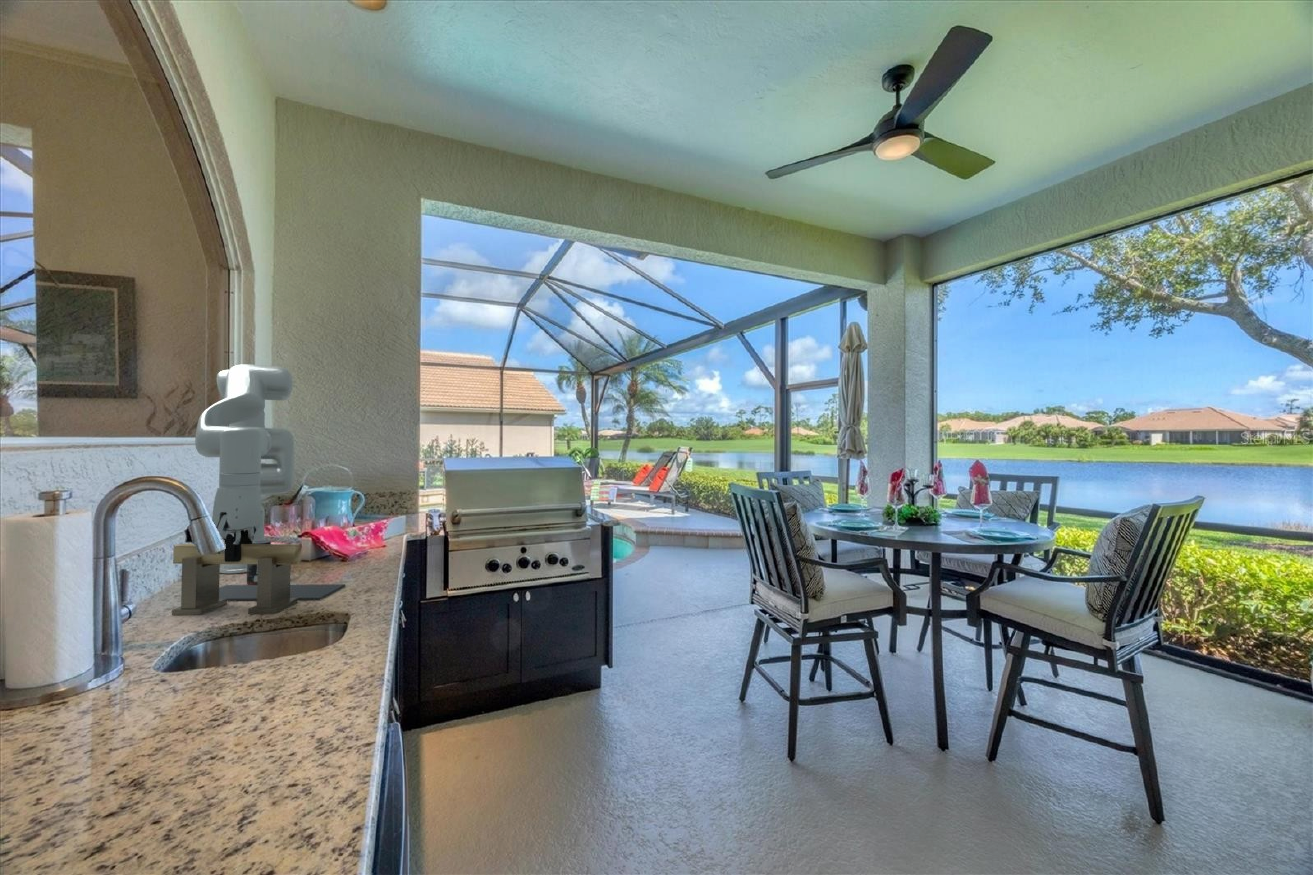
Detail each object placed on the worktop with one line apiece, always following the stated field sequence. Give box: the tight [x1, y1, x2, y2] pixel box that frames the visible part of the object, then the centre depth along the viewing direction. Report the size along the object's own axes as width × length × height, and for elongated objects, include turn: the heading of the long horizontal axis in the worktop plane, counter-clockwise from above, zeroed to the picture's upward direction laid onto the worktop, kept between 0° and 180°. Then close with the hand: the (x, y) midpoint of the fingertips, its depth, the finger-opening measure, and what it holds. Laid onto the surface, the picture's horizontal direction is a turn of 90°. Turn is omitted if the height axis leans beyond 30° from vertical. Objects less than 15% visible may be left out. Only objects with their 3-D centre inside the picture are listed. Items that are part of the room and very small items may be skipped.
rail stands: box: [171, 557, 299, 616], centre depth 120 cm, size 8×22×12 cm, turn 95°
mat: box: [219, 583, 346, 602], centre depth 132 cm, size 12×30×1 cm, turn 95°
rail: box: [172, 542, 302, 566], centre depth 121 cm, size 3×26×4 cm, turn 95°
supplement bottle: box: [246, 540, 272, 585], centre depth 141 cm, size 6×6×11 cm
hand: (238, 558), depth 121 cm, fingers closed on rail, 2 cm apart
